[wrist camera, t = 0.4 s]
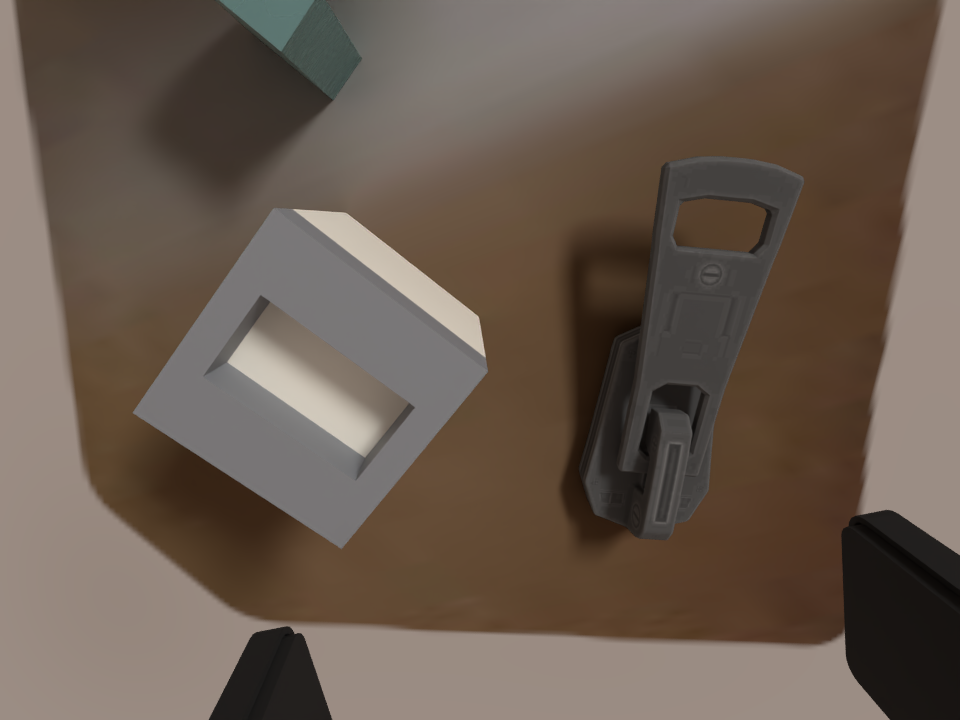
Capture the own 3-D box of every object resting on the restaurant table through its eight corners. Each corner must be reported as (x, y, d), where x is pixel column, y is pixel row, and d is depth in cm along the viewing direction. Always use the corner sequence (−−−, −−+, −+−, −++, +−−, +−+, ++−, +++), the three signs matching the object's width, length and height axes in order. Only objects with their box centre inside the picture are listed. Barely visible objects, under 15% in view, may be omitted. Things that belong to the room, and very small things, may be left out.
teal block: (278, -13, 32) (198, -114, 22) (361, 58, 33) (319, -9, 24) (250, 31, 33) (160, -49, 23) (333, 100, 34) (280, 51, 24)
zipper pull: (822, 164, 29) (728, 570, 35) (757, 174, 36) (687, 516, 42) (659, 147, 29) (592, 562, 35) (623, 160, 35) (572, 508, 41)
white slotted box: (346, 212, 35) (273, 208, 22) (478, 316, 37) (488, 371, 24) (252, 342, 37) (132, 412, 24) (383, 435, 39) (341, 548, 26)
